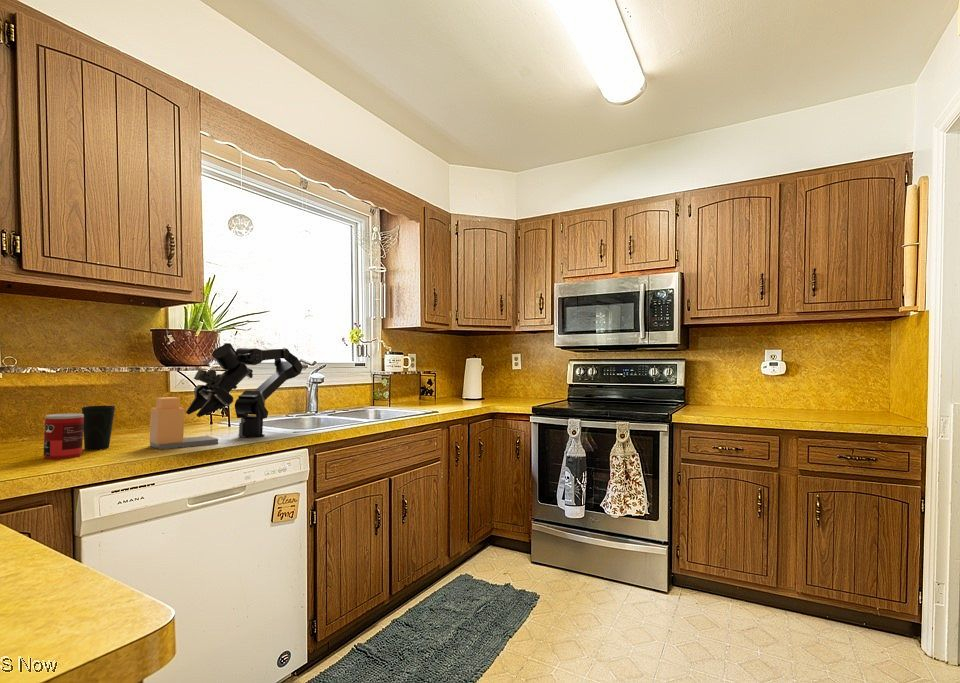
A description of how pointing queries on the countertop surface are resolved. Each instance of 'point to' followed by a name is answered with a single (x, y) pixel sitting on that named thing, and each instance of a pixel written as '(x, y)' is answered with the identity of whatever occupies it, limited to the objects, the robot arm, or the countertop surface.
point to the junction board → (187, 442)
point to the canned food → (63, 435)
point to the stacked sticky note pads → (167, 421)
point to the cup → (97, 426)
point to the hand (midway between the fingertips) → (192, 414)
